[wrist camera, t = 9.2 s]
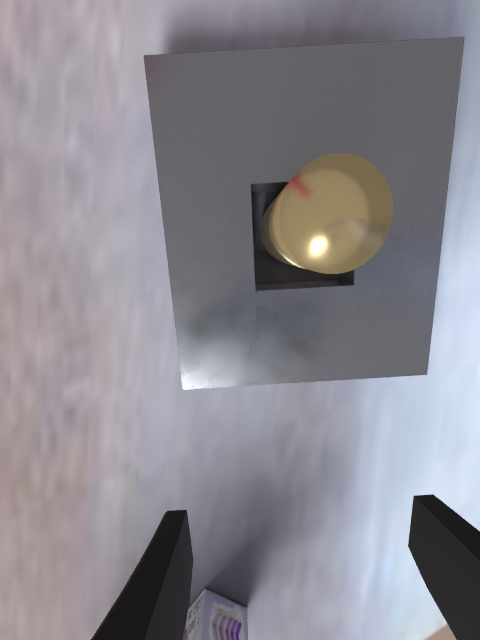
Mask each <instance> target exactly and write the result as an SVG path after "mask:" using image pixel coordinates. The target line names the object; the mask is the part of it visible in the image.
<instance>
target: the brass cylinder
mask: <svg viewBox="0 0 480 640" xmlns="http://www.w3.org/2000/svg"><path fill="white" fill-rule="evenodd" d="M392 219H393V198H392V194H391V190H390V188H389V185H388V183H387V181H386V179H385V177H384V176H383V174H382V173H381V172H380V170H379V169H378V168H377V167H376V166H375V165H373V164H372V163H371V162H369V161H368V160H366V159H364V158H362V157H360V156H357V155H354V154H349V153H332V154H328V155H324V156H321V157H319V158H316V159H314V160H313V161H311V162H309V163H308V164H306V165H305V166H304V167H302V168H301V169H300V170H299V171H298V172H297V173H296V174H295V176H294V177H293V178H292V179H291V180H290V182H289V183H288V184H287V185H286V186H285V188H284V189H283V190H282V191H281V192H280V194H279V195H278V196H277V197H276V198H275V200H274V201H273V202H272V203H271V204H270V206H269V207H268V208H267V210H266V212H265V213H264V216H263V219H262V222H261V238H262V242H263V244H264V246H265V248H266V250H267V251H268V253H269V254H270V255H271V256H272V257H274V258H275V259H276V260H278V261H280V262H282V263H286V264H289V265H293V266H297V267H301V268H304V269H308V270H312V271H316V272H319V273H325V274H339V273H344V272H348V271H351V270H354V269H356V268H358V267H360V266H362V265H363V264H365V263H366V262H367V261H369V260H370V259H371V258H372V257H373V256H374V255H375V254H376V253H377V252H378V251H379V249H380V248H381V247H382V245H383V244H384V242H385V240H386V238H387V236H388V233H389V231H390V228H391V224H392Z"/></svg>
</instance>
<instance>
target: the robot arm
mask: <svg viewBox="0 0 480 640" xmlns="http://www.w3.org/2000/svg"><path fill="white" fill-rule="evenodd" d="M408 547H409V549H410V551H411V553H412V556H413V558H414V560H415V562H416V565H417V567H418V569H419V571H420V573H421V575H422V578H423V580H424V582H425V584H426V586H427V588H428V590H429V592H430V593H431V595H432V597H433V599H434V601H435V602H436V604H437V606H438V608H439V609H440V611H441V613H442V615H443V616H444V618H445V620H446V622H447V623H448V625H449V627H450V629H451V630H452V632H453V634H454V636H455V637H456V639H457V640H480V531H478V530H477V529H476V528H475V527H473V526H472V525H471V524H470V523H468V522H467V521H466V520H465V519H463V518H462V517H461V516H460V515H458V514H457V513H456V512H455V511H453V510H452V509H451V508H450V507H448V506H447V505H446V504H444V503H443V502H442V501H441V500H439V499H438V498H437V497H435V496H434V495H419V496H414V499H413V508H412V517H411V526H410V535H409V544H408ZM192 567H193V555H192V547H191V539H190V531H189V523H188V516H187V510H176V511H167V512H166V513H165V514H164V516H163V518H162V520H161V522H160V524H159V526H158V528H157V530H156V532H155V534H154V536H153V538H152V540H151V542H150V543H149V545H148V547H147V549H146V551H145V553H144V554H143V556H142V558H141V560H140V562H139V563H138V565H137V567H136V568H135V570H134V572H133V573H132V575H131V577H130V579H129V580H128V582H127V584H126V585H125V587H124V589H123V590H122V592H121V594H120V595H119V597H118V599H117V600H116V602H115V603H114V605H113V606H112V608H111V609H110V611H109V613H108V614H107V616H106V617H105V619H104V620H103V622H102V624H101V625H100V627H99V628H98V630H97V631H96V633H95V634H94V636H93V637H92V639H91V640H183V636H184V630H185V625H186V619H187V613H188V607H189V600H190V589H191V578H192Z"/></svg>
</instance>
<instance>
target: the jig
mask: <svg viewBox="0 0 480 640" xmlns="http://www.w3.org/2000/svg"><path fill="white" fill-rule="evenodd" d="M463 45H464V37H454V38H437V39H419V40H402V41H385V42H367V43H350V44H333V45H315V46H298V47H281V48H263V49H246V50H229V51H211V52H194V53H177V54H159V55H144V63H145V71H146V80H147V88H148V97H149V106H150V114H151V123H152V131H153V140H154V148H155V157H156V165H157V174H158V182H159V191H160V199H161V208H162V217H163V225H164V234H165V242H166V251H167V259H168V268H169V276H170V285H171V293H172V302H173V311H174V319H175V328H176V336H177V345H178V353H179V362H180V370H181V379H182V387H183V389H199V388H216V387H232V386H249V385H265V384H282V383H298V382H315V381H331V380H348V379H364V378H381V377H397V376H414V375H427V370H428V361H429V352H430V343H431V334H432V325H433V316H434V307H435V298H436V289H437V280H438V271H439V262H440V253H441V244H442V235H443V226H444V217H445V208H446V199H447V190H448V181H449V172H450V163H451V154H452V145H453V136H454V127H455V118H456V109H457V100H458V90H459V81H460V72H461V63H462V54H463ZM332 153H349V154H354V155H357V156H360V157H362V158H364V159H366V160H368V161H369V162H371V163H372V164H373V165H375V166H376V167H377V168H378V169H379V170H380V172H381V173H382V174H383V176H384V177H385V179H386V181H387V183H388V185H389V188H390V190H391V194H392V198H393V219H392V224H391V228H390V231H389V233H388V236H387V238H386V240H385V242H384V244H383V245H382V247H381V248H380V249H379V251H378V252H377V253H376V254H375V255H374V256H373V257H372V258H371V259H370V260H369V261H367V262H366V263H365V264H363V265H362V266H360V267H358V268H356V269H354V270H351V271H348V272H344V273H339V274H338V280H327V281H310V282H294V283H277V284H260V285H255V270H254V248H253V225H252V203H251V193H259V192H276V191H282V190H283V189H284V188H285V186H286V185H287V184H288V183H289V182H290V180H291V179H292V178H293V177H294V176H295V174H296V173H297V172H298V171H299V170H300V169H301V168H302V167H304V166H305V165H306V164H308V163H309V162H311V161H313V160H314V159H316V158H319V157H321V156H324V155H328V154H332Z"/></svg>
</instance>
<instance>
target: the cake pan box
mask: <svg viewBox="0 0 480 640" xmlns="http://www.w3.org/2000/svg"><path fill="white" fill-rule="evenodd" d="M183 640H248V624H247V607H245V606H243V605H241V604H239V603H237V602H234V601H232V600H230V599H228V598H226V597H224V596H222V595H220V594H218V593H216V592H213V591H211V590H209V589H207V588H205V589H204V590H203V591H202V592H201V594H200V595H199V596H198V597H197V599H196V600H195V601H194V603H193V604H192V605H191V607H190V608H189V609H188V613H187V619H186V625H185V630H184V636H183Z"/></svg>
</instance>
